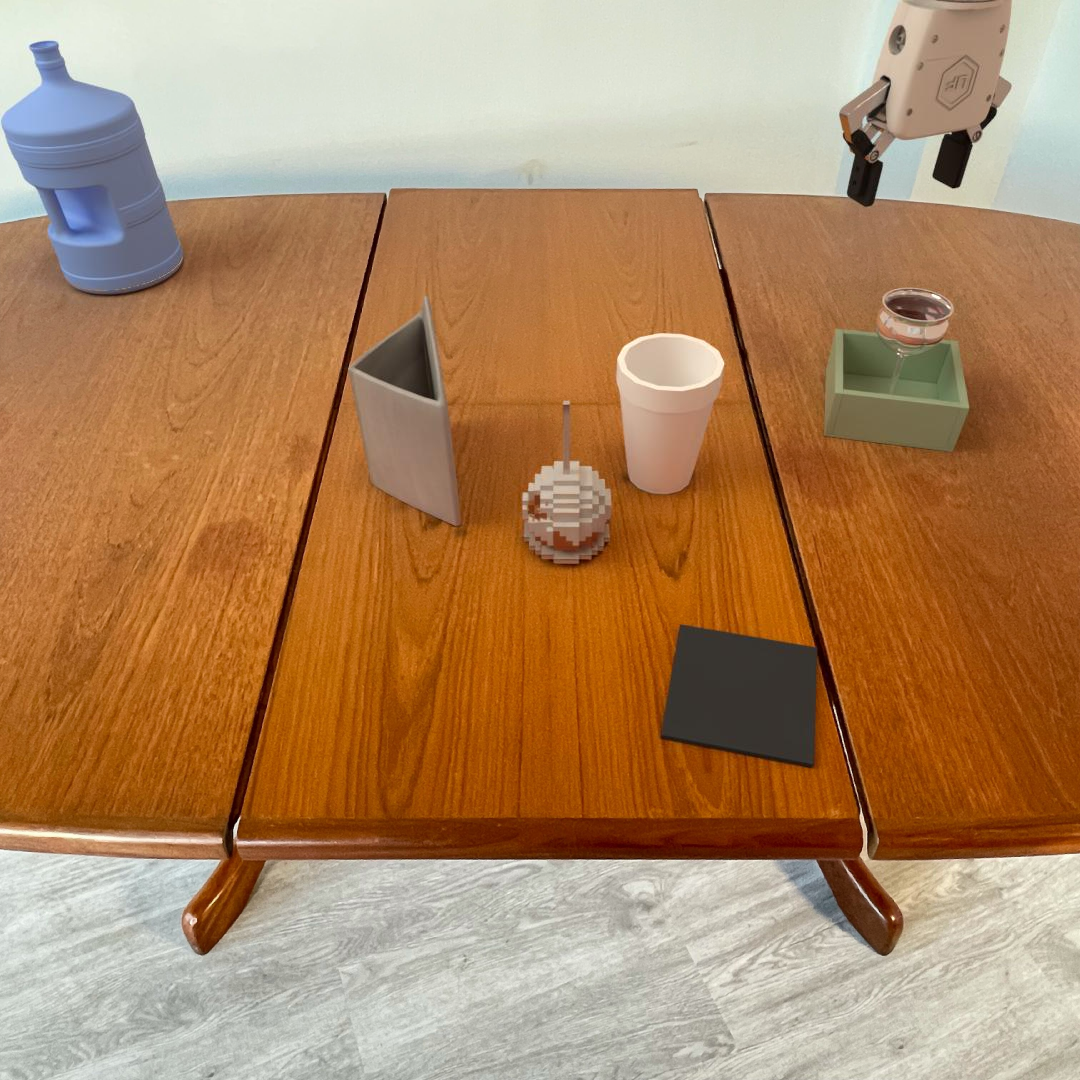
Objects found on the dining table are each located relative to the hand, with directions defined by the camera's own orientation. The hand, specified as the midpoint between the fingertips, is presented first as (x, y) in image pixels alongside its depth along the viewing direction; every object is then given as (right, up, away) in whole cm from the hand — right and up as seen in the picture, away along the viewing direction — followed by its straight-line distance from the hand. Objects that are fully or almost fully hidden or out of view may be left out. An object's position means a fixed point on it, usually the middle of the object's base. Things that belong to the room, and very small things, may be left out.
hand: (902, 192), depth 82 cm
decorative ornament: (-31, -32, -1) cm, 45 cm away
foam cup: (-22, -26, +6) cm, 34 cm away
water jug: (-91, +5, +40) cm, 99 cm away
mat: (-18, -44, -14) cm, 50 cm away
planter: (-47, -26, +6) cm, 54 cm away
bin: (+3, -18, +13) cm, 22 cm away
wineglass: (+3, -18, +12) cm, 22 cm away
